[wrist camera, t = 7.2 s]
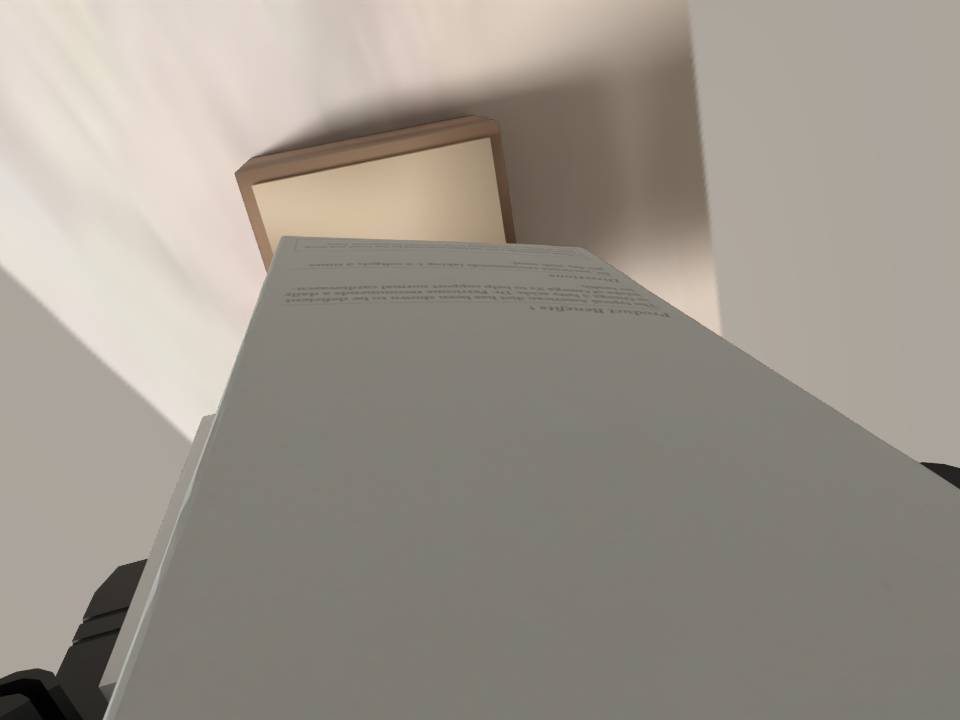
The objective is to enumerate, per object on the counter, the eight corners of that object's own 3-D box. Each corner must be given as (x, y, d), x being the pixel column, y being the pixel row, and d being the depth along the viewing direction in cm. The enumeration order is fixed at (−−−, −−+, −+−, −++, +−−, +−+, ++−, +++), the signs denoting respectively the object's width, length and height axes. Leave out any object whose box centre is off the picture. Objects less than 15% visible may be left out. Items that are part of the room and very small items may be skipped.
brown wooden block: (250, 158, 22) (233, 174, 18) (472, 115, 23) (500, 121, 19) (326, 405, 26) (326, 461, 22) (511, 359, 27) (541, 405, 23)
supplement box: (284, 512, 16) (160, 1468, 5) (276, 226, 14) (-43, 924, 2) (554, 500, 18) (922, 1204, 7) (596, 242, 15) (1351, 697, 4)
